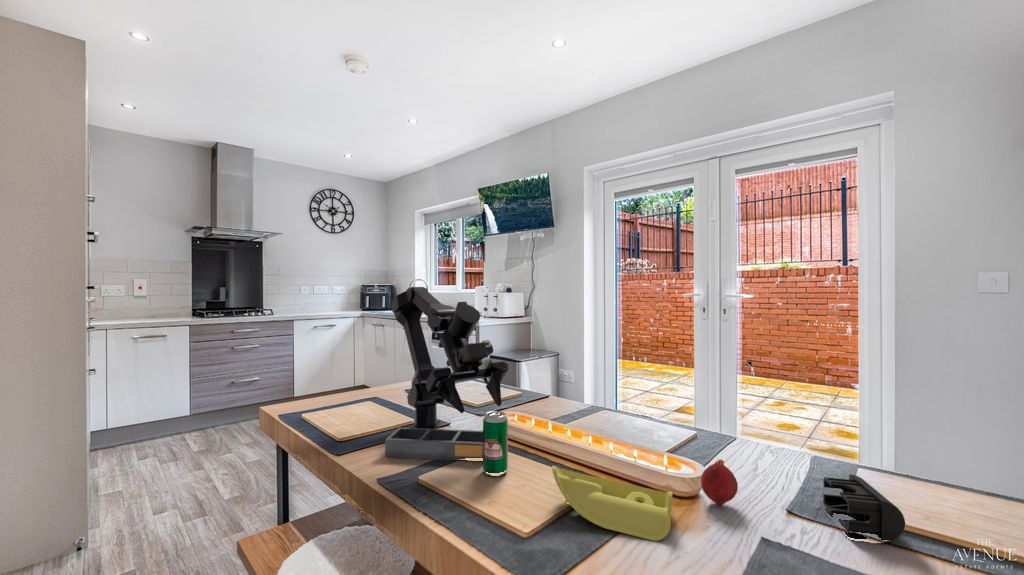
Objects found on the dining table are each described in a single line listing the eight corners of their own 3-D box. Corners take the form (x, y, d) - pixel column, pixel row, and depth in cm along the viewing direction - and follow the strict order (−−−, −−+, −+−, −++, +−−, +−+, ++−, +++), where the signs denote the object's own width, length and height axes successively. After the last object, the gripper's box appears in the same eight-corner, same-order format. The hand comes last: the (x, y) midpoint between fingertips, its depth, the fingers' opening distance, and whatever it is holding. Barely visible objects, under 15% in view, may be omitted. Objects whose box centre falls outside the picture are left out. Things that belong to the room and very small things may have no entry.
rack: (398, 444, 108) (398, 427, 108) (493, 448, 105) (493, 431, 105) (384, 457, 99) (384, 439, 99) (487, 462, 97) (487, 444, 97)
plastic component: (670, 493, 78) (672, 491, 70) (666, 540, 76) (669, 544, 67) (559, 468, 85) (549, 464, 76) (552, 511, 82) (541, 511, 73)
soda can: (478, 475, 90) (479, 416, 90) (489, 465, 95) (489, 409, 95) (502, 479, 89) (502, 419, 88) (511, 469, 93) (511, 412, 93)
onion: (721, 516, 75) (722, 468, 75) (693, 501, 80) (694, 456, 80) (744, 508, 78) (744, 462, 77) (715, 494, 83) (716, 451, 83)
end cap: (905, 549, 66) (906, 503, 66) (850, 542, 68) (850, 498, 67) (869, 515, 75) (870, 475, 75) (821, 510, 77) (822, 471, 77)
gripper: (431, 331, 95) (455, 393, 86) (504, 326, 106) (532, 381, 97) (416, 363, 102) (437, 423, 93) (487, 355, 112) (512, 409, 103)
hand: (481, 408), depth 96 cm, fingers open, 9 cm apart
